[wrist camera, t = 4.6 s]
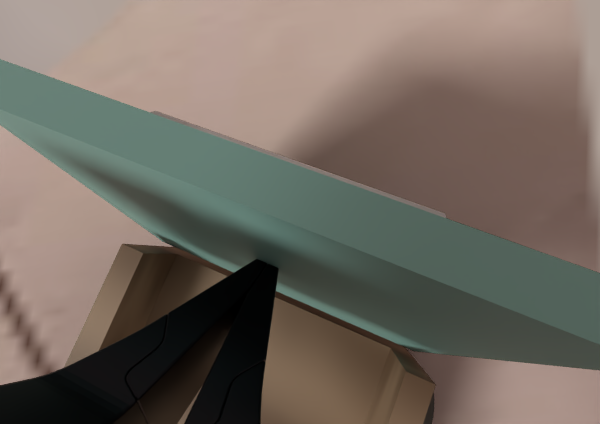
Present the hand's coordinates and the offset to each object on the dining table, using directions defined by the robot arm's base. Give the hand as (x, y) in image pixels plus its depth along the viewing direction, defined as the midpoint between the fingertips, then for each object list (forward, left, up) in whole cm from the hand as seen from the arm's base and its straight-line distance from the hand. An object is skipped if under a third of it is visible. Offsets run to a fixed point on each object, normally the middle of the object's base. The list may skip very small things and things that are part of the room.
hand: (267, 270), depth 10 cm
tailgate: (0, 0, -6) cm, 6 cm away
